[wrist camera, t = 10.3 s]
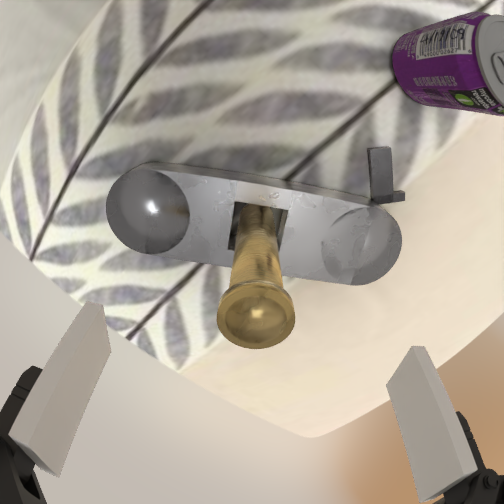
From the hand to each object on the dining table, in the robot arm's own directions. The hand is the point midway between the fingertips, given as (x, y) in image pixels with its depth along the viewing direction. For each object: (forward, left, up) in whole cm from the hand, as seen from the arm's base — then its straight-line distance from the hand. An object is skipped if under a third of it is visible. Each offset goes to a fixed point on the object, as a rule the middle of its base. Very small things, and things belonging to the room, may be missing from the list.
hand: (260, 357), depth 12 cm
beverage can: (-17, +12, -17) cm, 27 cm away
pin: (+1, 0, -17) cm, 17 cm away
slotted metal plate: (0, 0, -17) cm, 17 cm away
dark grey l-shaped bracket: (-6, +10, -17) cm, 20 cm away
